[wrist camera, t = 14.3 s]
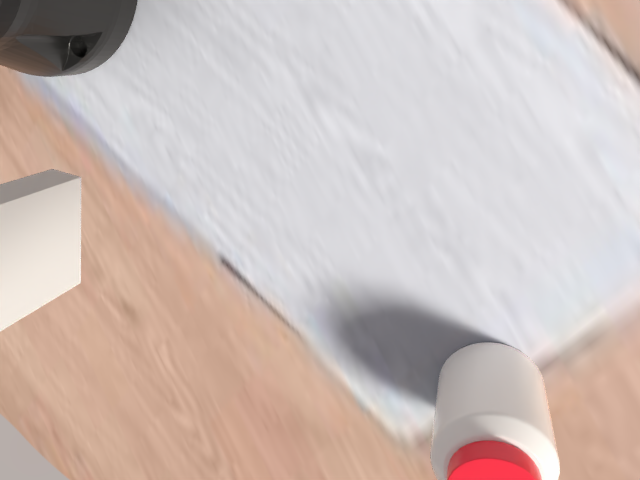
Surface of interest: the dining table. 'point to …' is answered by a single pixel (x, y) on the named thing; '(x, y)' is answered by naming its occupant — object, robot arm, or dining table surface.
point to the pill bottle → (492, 418)
